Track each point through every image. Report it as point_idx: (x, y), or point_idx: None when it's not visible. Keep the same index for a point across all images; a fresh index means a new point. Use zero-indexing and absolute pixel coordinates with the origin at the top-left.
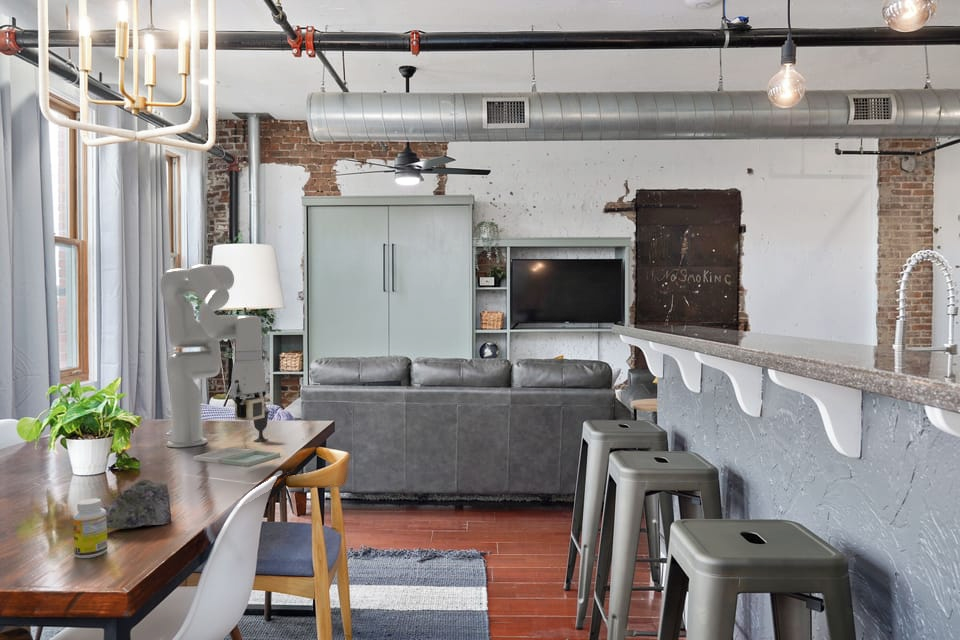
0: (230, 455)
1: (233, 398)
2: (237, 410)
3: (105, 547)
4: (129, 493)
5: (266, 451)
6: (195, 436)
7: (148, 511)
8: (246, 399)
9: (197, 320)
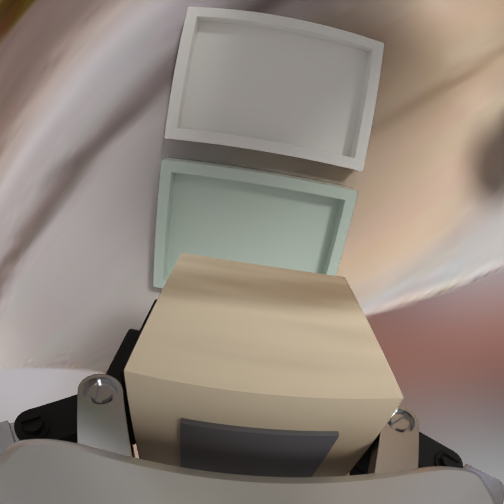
0: (239, 145)
1: (14, 433)
2: (119, 350)
3: None
4: None
5: (338, 253)
6: None
7: None
8: (181, 465)
9: None
